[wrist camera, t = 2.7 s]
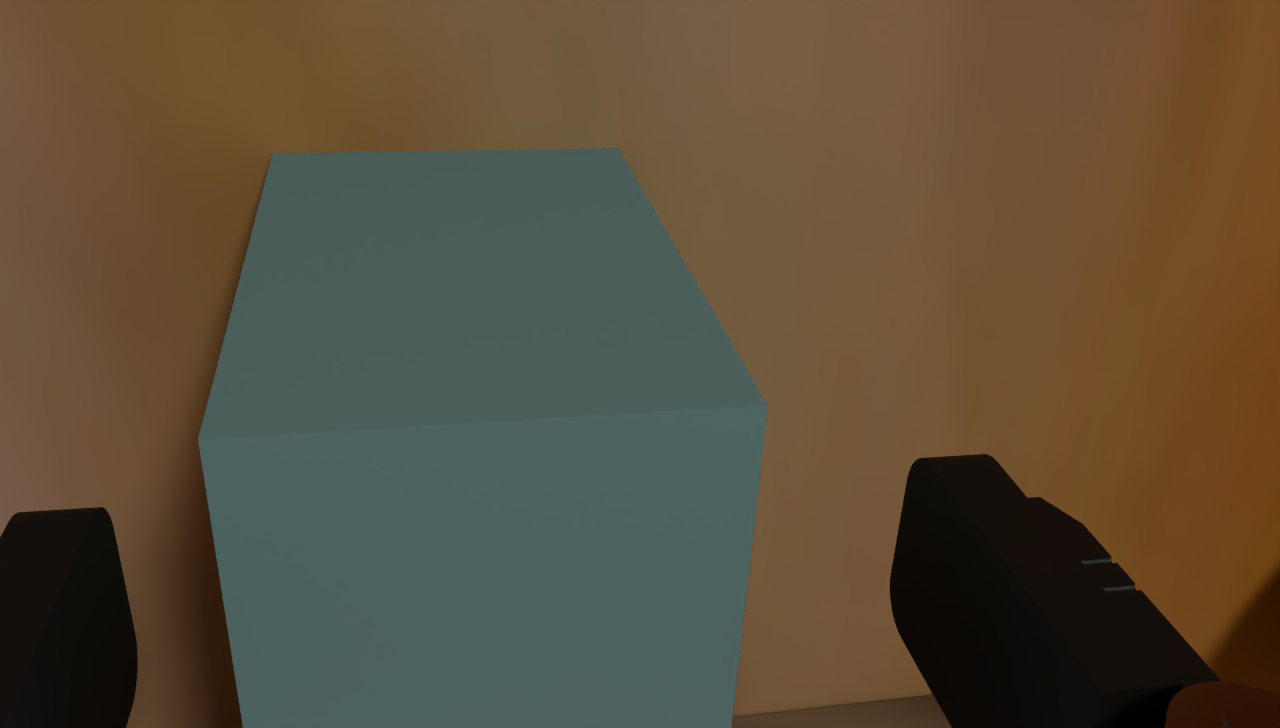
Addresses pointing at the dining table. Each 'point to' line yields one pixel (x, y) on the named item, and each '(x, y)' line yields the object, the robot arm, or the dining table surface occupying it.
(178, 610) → the dining table surface
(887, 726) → the rail
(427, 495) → the teal block
